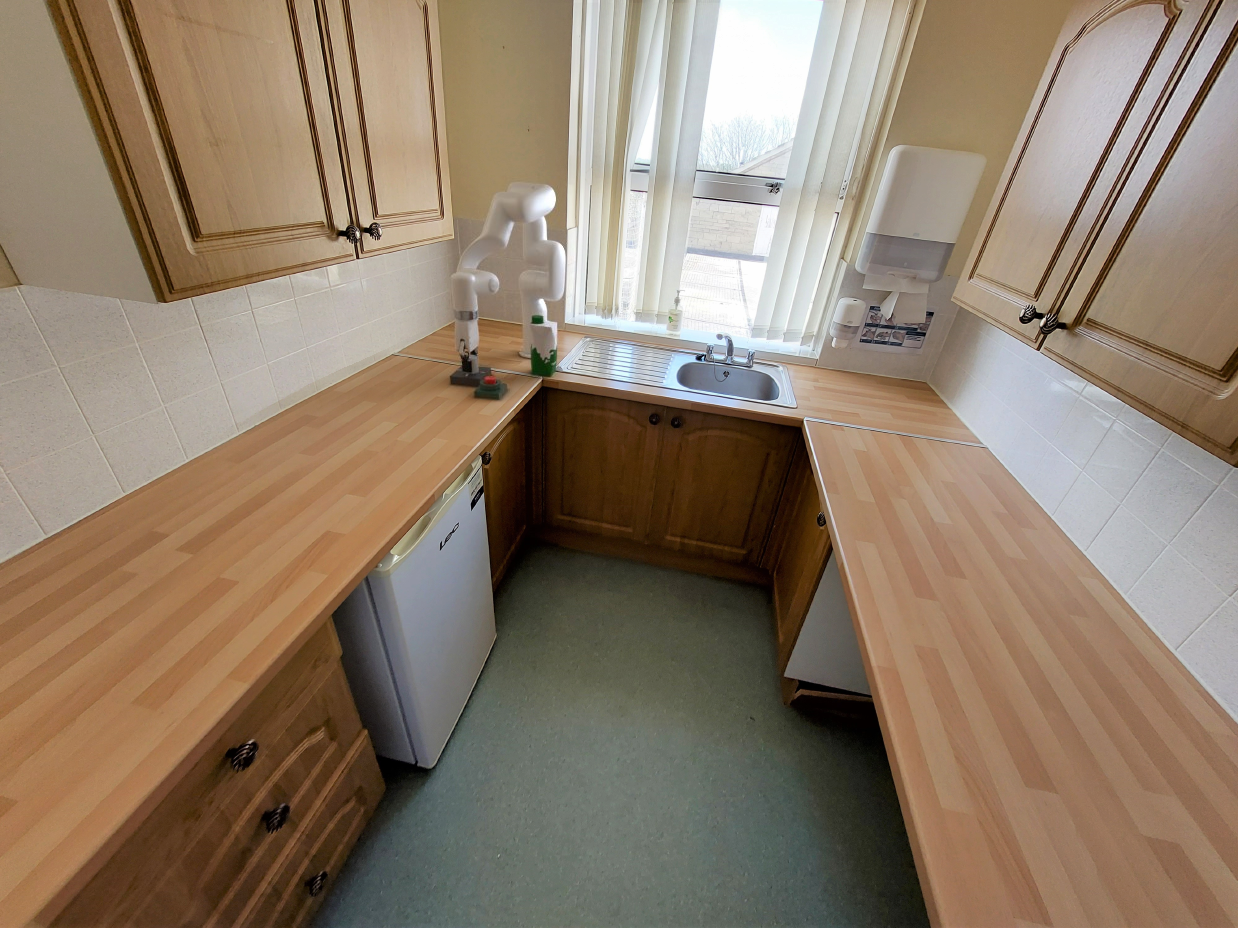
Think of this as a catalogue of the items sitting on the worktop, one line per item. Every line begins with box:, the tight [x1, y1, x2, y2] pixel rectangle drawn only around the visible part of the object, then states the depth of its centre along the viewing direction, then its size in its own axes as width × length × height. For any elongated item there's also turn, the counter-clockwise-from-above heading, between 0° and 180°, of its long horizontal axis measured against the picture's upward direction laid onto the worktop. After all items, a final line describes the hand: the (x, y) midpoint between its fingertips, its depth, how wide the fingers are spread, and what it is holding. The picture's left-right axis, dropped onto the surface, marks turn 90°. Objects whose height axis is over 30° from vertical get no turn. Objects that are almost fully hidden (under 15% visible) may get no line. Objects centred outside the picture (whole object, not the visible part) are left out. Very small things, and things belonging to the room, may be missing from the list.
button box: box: [473, 378, 508, 401], centre depth 155 cm, size 9×8×4 cm
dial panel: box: [449, 365, 492, 388], centre depth 164 cm, size 12×10×3 cm
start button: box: [484, 375, 497, 384], centre depth 154 cm, size 4×4×2 cm
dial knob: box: [464, 354, 480, 374], centre depth 162 cm, size 5×5×5 cm
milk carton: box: [529, 315, 558, 378], centre depth 171 cm, size 9×9×20 cm
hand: (470, 368), depth 163 cm, fingers closed on dial knob, 5 cm apart
